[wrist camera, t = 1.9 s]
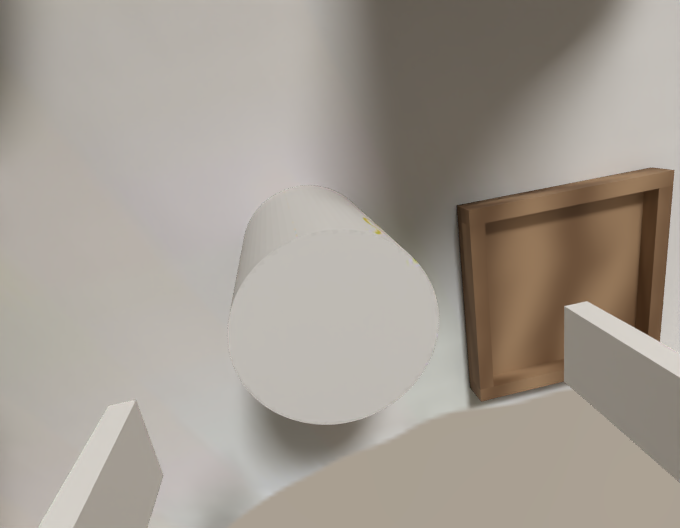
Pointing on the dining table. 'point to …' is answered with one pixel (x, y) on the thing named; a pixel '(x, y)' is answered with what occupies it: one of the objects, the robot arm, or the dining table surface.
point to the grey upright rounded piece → (327, 310)
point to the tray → (559, 271)
